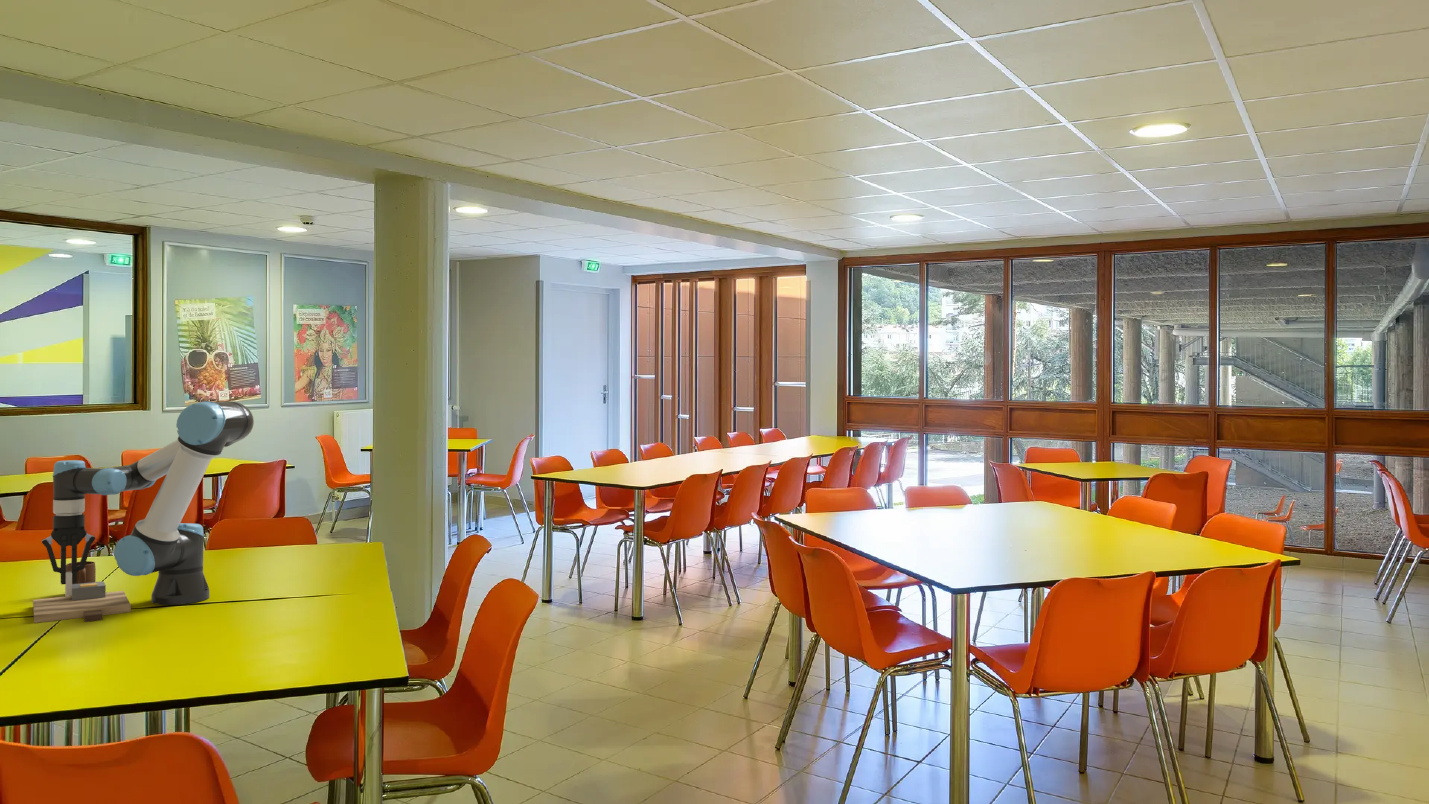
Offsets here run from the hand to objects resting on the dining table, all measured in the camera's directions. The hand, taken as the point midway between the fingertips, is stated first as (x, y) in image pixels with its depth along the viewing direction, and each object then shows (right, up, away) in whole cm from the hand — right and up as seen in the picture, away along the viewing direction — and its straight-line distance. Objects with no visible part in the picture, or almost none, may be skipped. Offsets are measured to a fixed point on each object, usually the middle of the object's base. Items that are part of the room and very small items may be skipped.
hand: (68, 594), depth 266 cm
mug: (-6, -3, +13) cm, 15 cm away
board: (+8, -3, -6) cm, 11 cm away
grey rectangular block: (+4, -1, +3) cm, 5 cm away
